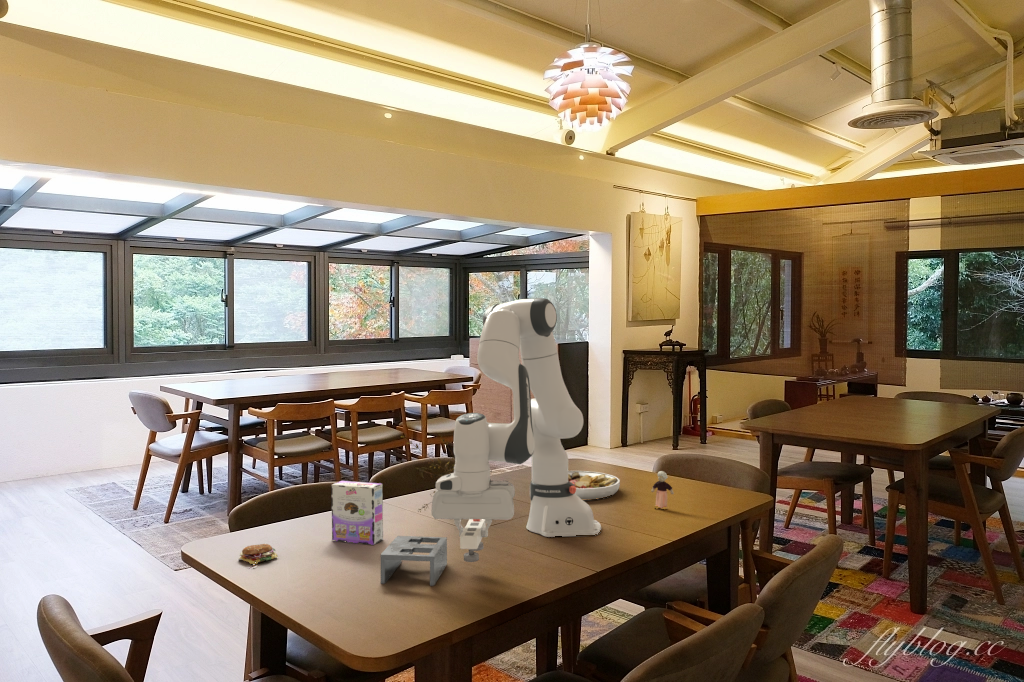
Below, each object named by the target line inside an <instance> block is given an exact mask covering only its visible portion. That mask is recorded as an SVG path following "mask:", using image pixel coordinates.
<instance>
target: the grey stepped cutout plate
mask: <svg viewBox="0 0 1024 682" xmlns="http://www.w3.org/2000/svg"><path fill="white" fill-rule="evenodd" d="M413 553H417V554H413ZM418 553H419V554H418ZM423 553H424V554H423ZM425 553H426V554H425ZM402 561H407V562H429V586H430V587H435V585H436V583H438V582H437V581H438V580H439V578H440V577H441V575H442V574H443V572H444V570H445V569H446V567H447V565H448V537H445V536H444V537H443V536H415V535H413V536H412V535H397V536H396V537H395V538H394V539H393V540H392V541H391V542H390V544H388V546H387V547H386V548H385V549H384V550H383V551H382V552H381V554H380V584H381V585H385V584H386V583H387V582H388V581H389V579H391V577H392V575H393V574H394V573H395V572H396V571H397V569H398V568H399V567H400V566H401V564H402Z"/></svg>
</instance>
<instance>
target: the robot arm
mask: <svg viewBox="0 0 1024 682" xmlns="http://www.w3.org/2000/svg"><path fill="white" fill-rule="evenodd" d="M557 321H558V314H557V310H556V307H555V305H554V303H553V302H551V300H550V299H548V298H543V297H536V298H521V299H516V300H511V301H506V302H502V303H495V304H493V305H490V306H489V307H487V309H486V310H485V312H484V313H483V317H482V330H481V333H480V338H479V342H478V349H477V354H476V355H477V356H476V358H477V359H476V361H477V364H478V368H479V370H480V371H481V372H482V373H483V375H485V377H487V378H488V379H490V380H492V381H494V382H496V383H498V384H500V385H503V386H505V387H508V388H509V389H511V391H512V400H513V401H512V402H513V403H512V404H513V405H512V406H513V420H512V422H510V423H500V422H499V423H497V422H496V423H495V422H488V421H487V417H486V416H487V415H484V414H483V413H480V412H470V413H469V412H468V413H464V414H462V415H460V416H458V417H457V418H456V419H455V424H454V430H453V452H454V453H453V455H455V457H454V458H455V459H454V462H455V463H454V465H455V466H453V467H454V472H453V473H452V472H451V474H449V473H447V474H446V475H445V476H444V475H441V476H440V477H438V479H437V481H435V491H436V492H435V493H434V492H433V495H432V501H431V502H432V503H431V513H430V514H431V516H432V518H434V520H453V522H454V525H455V527H456V528H457V530H458V536H459V538H460V536H461V534H462V532H463V530H464V528H465V527H463V525H462V523H461V522H462V520H469V519H485V523H486V527H485V528H482V529H481V537H482V538H487V537H488V536H489V529H490V527H491V524H492V523H493V520H500V521H501V520H502V521H503V520H511V519H512V518H513V517H514V516H515V506H514V499H513V498H514V497H515V495H516V494H515V493H516V491H515V485H514V484H513V483H512V482H511V481H510V482H509V480H490V479H491V472H490V471H491V466H490V462H502V463H503V462H504V463H509V464H515V465H523V464H524V463H526V462H527V461H528V460H529V459H530V458H531V480H530V483H529V499H530V508H529V514H528V519H527V523H526V527H525V528H526V529H527V530H529V532H532V533H535V534H538V535H541V536H543V537H545V538H547V537H548V538H550V537H551V538H553V537H554V538H555V536H562V537H577V536H576V535H595V534H597V535H599V534H600V533H601V532H600V530H601V531H602V525H601V523H600V522H599V521H598V520H596V519H595V518H594V513H593V510H592V508H591V507H592V506H591V505H589V504H588V503H587V502H586V501H585V500H582V499H580V498H579V497H578V496H577V495H575V492H576V487H575V485H574V483H573V482H572V483H571V482H570V481H568V471H569V457H568V454H567V451H566V450H565V448H564V447H563V444H562V442H561V439H563V440H564V439H571V438H574V437H576V436H578V435H579V433H580V432H581V431H582V429H583V426H584V416H583V413H582V411H581V410H580V408H578V406H577V405H576V404H575V402H574V401H573V399H572V398H571V395H570V394H569V391H568V388H567V386H566V384H565V381H564V378H563V375H562V369H561V366H560V365H561V364H560V360H559V359H560V358H559V352H558V348H557V342H556V339H555V336H554V332H553V331H554V330H555V327H556V325H557V323H558V322H557ZM519 355H520V356H519ZM520 360H521V361H520ZM531 394H532V395H533V397H534V398H531ZM599 532H600V533H599ZM598 533H599V534H598ZM595 536H596V535H595Z"/></svg>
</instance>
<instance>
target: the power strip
mask: <svg viewBox="0 0 1024 682" xmlns="http://www.w3.org/2000/svg"><path fill="white" fill-rule="evenodd" d="M486 526H487V524H486V523H485V519H468V521H467V523H466V525H465V527H463V528H464V530H463V532H462V534H461V536H460V537H459V549H460V550H468V551H467V552H465V553H464V554H463V561H464V562H467V563H474V562H478V561H479V560H480V556H479V555H480V554H479V552H477V551H482V550H484V542H483V541H482V539H483V537H481V529H482V528H485V527H486Z"/></svg>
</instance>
